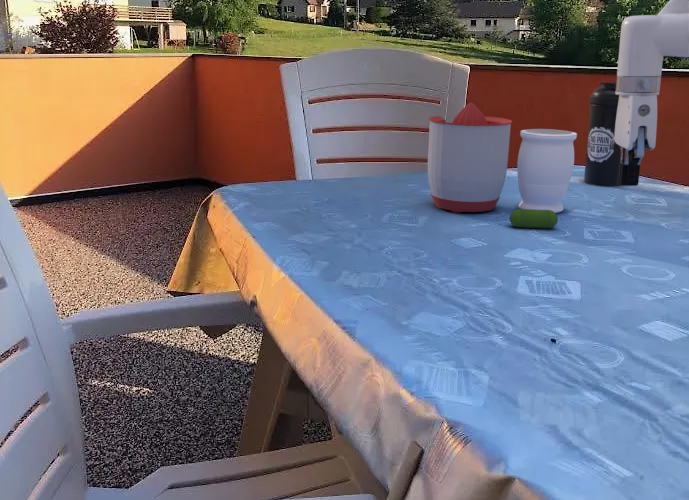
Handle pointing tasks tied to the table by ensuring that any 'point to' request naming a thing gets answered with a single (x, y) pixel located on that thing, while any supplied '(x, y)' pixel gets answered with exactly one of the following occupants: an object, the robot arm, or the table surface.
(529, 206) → the jar
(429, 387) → the table surface
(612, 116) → the water bottle
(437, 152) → the citrus juicer
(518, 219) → the pickle
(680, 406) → the table surface
